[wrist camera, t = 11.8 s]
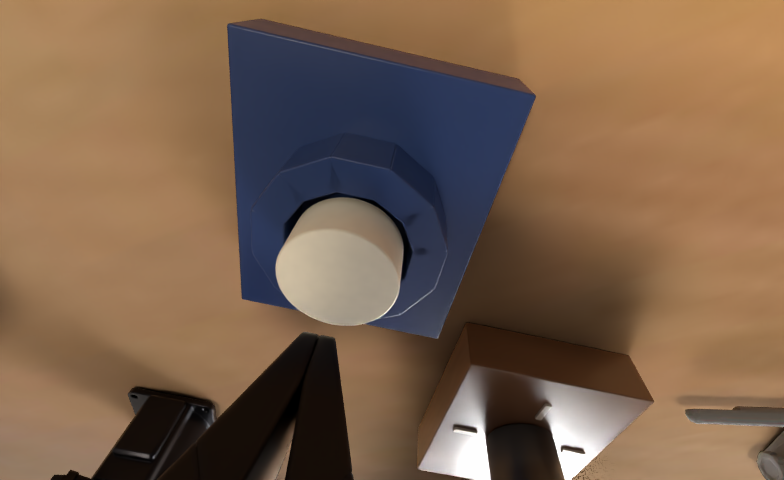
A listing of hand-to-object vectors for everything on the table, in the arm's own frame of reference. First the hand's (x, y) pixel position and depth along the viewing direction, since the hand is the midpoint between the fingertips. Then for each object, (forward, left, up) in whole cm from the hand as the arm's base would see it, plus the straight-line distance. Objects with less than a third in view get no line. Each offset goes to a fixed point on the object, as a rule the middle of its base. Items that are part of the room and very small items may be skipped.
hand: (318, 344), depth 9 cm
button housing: (0, 0, -9) cm, 9 cm away
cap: (0, 0, -5) cm, 5 cm away
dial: (-13, -12, -6) cm, 19 cm away
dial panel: (-13, -12, -9) cm, 20 cm away
